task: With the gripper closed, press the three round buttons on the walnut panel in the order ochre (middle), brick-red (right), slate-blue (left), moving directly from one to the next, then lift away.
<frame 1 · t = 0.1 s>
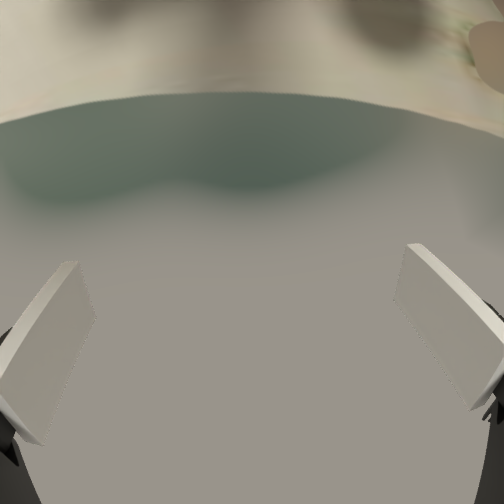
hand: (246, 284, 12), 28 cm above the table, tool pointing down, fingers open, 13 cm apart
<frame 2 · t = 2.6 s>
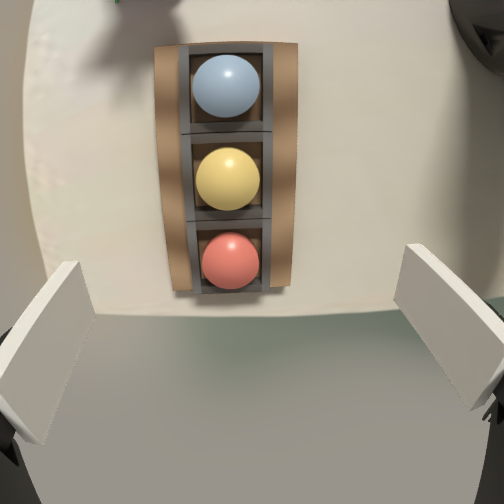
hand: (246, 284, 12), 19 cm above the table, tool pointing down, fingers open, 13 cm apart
button blue: (226, 86, 22), point 4 cm above the table, slide at 0.0 cm
button ochre: (227, 178, 25), point 4 cm above the table, slide at 0.0 cm
button red: (230, 261, 28), point 4 cm above the table, slide at 0.0 cm
button panel: (227, 168, 28), on the table
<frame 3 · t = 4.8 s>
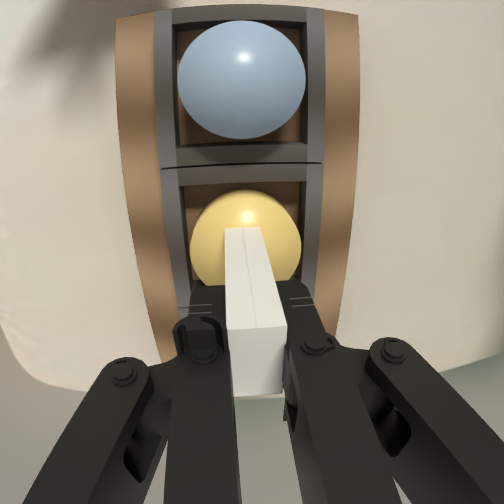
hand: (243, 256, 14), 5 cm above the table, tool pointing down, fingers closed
button blue: (241, 79, 11), point 4 cm above the table, slide at 0.0 cm
button ochre: (245, 245, 15), point 4 cm above the table, slide at 0.0 cm, touching gripper
button panel: (241, 216, 18), on the table
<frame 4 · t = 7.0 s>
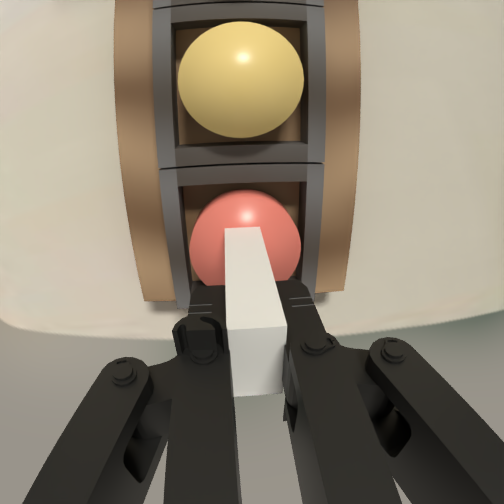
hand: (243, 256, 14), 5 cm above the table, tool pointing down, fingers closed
button ochre: (240, 79, 12), point 4 cm above the table, slide at 0.4 cm
button red: (244, 245, 15), point 4 cm above the table, slide at 0.2 cm, touching gripper
button panel: (237, 85, 15), on the table
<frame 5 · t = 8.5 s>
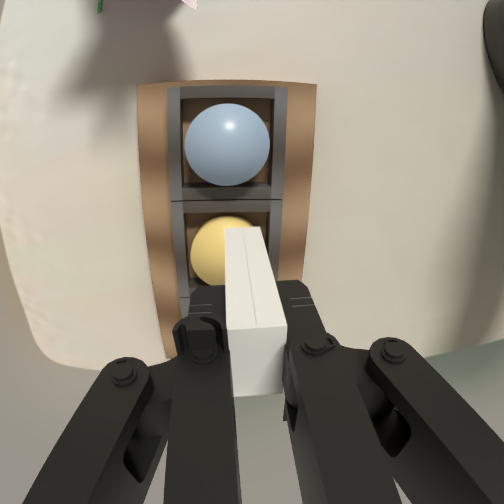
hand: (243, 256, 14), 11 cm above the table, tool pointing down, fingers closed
button blue: (227, 143, 18), point 4 cm above the table, slide at 0.0 cm
button ochre: (227, 252, 22), point 4 cm above the table, slide at 0.4 cm
button panel: (226, 232, 25), on the table
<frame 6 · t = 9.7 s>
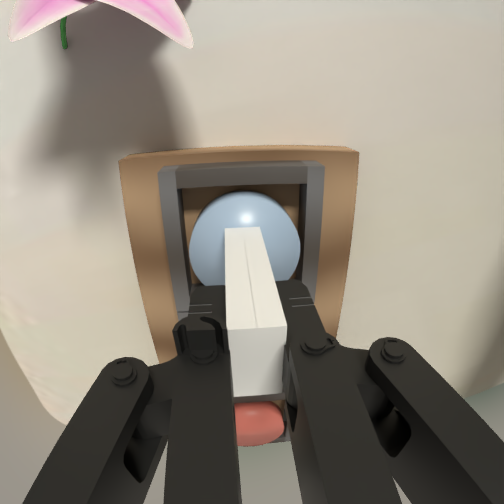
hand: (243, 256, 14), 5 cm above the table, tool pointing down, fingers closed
button blue: (244, 246, 15), point 4 cm above the table, slide at 0.3 cm, touching gripper
button red: (250, 424, 22), point 4 cm above the table, slide at 0.4 cm
button panel: (244, 322, 21), on the table
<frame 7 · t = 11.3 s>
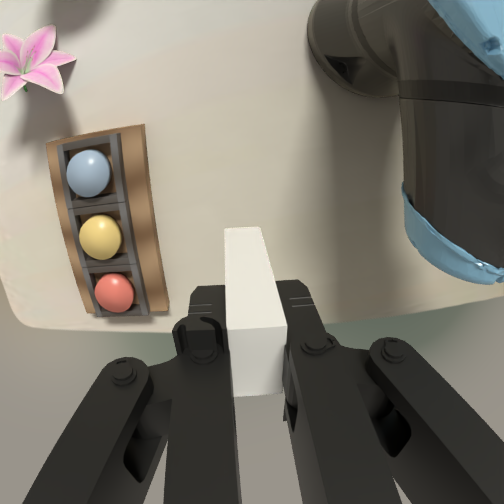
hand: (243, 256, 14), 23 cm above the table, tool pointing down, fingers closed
button blue: (88, 172, 30), point 4 cm above the table, slide at 0.4 cm
lily: (47, 64, 26), on the table
button ochre: (100, 237, 33), point 4 cm above the table, slide at 0.4 cm
button red: (114, 292, 36), point 4 cm above the table, slide at 0.4 cm
button panel: (109, 225, 36), on the table
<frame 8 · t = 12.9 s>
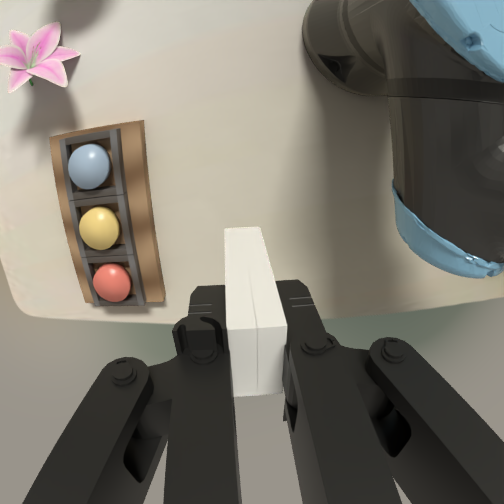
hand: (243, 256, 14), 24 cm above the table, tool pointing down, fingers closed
button blue: (89, 166, 31), point 4 cm above the table, slide at 0.4 cm
lily: (52, 60, 27), on the table
button ochre: (99, 228, 34), point 4 cm above the table, slide at 0.4 cm
button red: (112, 282, 37), point 4 cm above the table, slide at 0.4 cm
button panel: (109, 217, 37), on the table
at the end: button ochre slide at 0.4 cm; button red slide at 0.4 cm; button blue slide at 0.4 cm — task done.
